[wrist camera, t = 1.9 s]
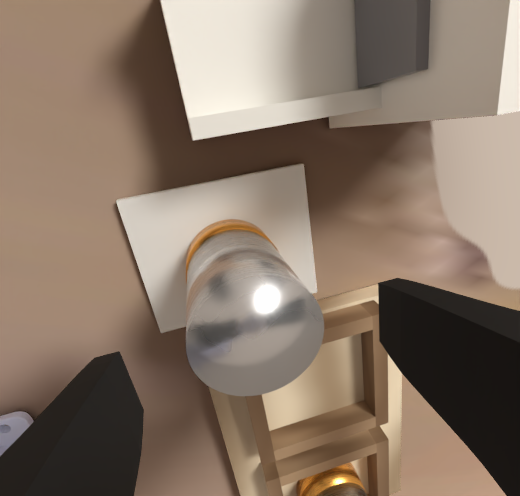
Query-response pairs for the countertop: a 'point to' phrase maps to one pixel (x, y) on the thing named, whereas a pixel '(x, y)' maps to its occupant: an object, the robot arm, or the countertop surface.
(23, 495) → the robot arm
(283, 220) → the mat
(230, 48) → the feeder
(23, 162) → the countertop surface
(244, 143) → the countertop surface
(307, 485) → the sleeve
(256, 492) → the seat board
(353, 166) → the countertop surface
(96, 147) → the countertop surface
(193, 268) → the sleeve
